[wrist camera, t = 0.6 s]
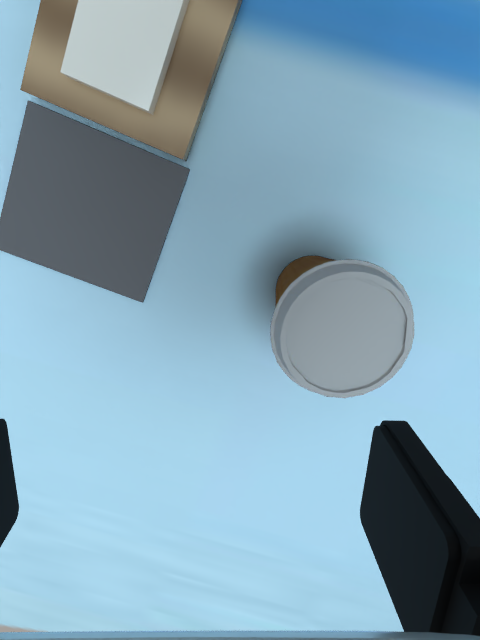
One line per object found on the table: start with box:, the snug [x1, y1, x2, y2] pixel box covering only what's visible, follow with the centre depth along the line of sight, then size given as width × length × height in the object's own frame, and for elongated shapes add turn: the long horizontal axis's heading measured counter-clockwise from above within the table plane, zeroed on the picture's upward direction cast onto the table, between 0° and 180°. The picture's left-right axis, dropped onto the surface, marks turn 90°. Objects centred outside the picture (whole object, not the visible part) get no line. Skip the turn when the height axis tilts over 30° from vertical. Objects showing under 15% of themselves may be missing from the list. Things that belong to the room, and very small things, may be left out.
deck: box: [20, 0, 242, 161], centre depth 31 cm, size 12×12×3 cm
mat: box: [0, 101, 190, 303], centre depth 35 cm, size 12×13×1 cm
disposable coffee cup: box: [270, 256, 414, 398], centre depth 33 cm, size 10×10×12 cm
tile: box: [60, 0, 189, 115], centre depth 28 cm, size 8×6×2 cm
